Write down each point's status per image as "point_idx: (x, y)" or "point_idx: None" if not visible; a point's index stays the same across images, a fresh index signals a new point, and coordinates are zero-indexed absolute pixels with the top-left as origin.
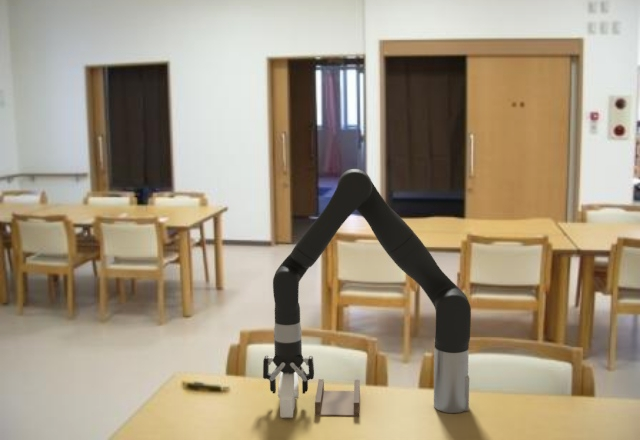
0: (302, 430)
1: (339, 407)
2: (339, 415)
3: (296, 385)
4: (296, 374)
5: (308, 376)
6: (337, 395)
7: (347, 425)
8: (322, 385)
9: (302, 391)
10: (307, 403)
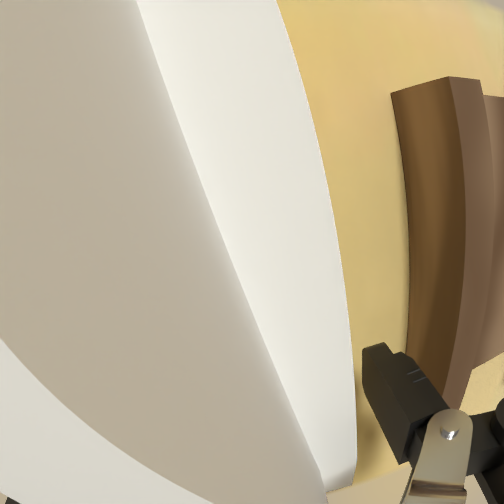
0: (354, 474)
1: (497, 304)
2: (483, 361)
3: (341, 473)
4: (329, 397)
5: (470, 467)
6: (495, 163)
7: (485, 398)
8: (492, 215)
9: (368, 401)
10: (357, 292)
